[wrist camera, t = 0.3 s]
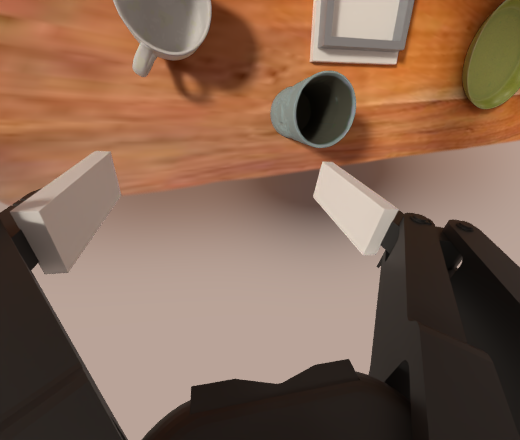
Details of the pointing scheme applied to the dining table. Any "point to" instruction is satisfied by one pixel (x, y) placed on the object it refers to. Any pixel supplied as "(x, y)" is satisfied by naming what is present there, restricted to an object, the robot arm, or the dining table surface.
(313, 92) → the blue-grey cup
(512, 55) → the saucer
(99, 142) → the dining table surface
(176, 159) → the dining table surface
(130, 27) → the teacup
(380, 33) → the tray
